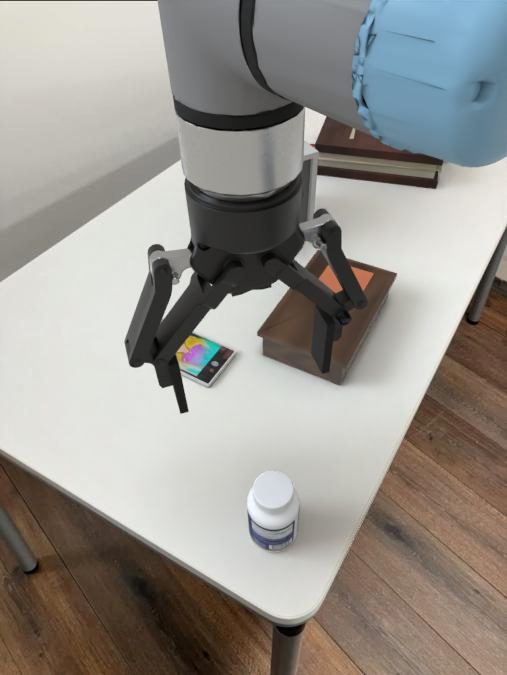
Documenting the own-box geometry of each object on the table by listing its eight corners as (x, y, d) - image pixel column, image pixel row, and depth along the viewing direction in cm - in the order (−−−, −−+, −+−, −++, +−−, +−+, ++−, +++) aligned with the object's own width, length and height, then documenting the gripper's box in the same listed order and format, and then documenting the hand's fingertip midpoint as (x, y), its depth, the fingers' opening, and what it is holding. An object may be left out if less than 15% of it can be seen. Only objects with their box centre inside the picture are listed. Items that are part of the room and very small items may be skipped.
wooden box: (391, 297, 82) (397, 272, 78) (342, 389, 69) (347, 364, 66) (316, 273, 86) (318, 248, 82) (257, 355, 74) (256, 330, 70)
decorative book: (320, 102, 115) (458, 114, 109) (317, 135, 121) (449, 148, 115) (302, 141, 102) (458, 157, 96) (300, 175, 108) (447, 193, 102)
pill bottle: (261, 498, 59) (260, 455, 52) (304, 517, 57) (309, 475, 50) (240, 540, 56) (235, 500, 49) (285, 562, 54) (287, 524, 47)
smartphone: (208, 385, 69) (123, 345, 75) (209, 388, 70) (124, 348, 75) (236, 351, 74) (154, 315, 79) (236, 354, 74) (154, 318, 79)
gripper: (391, 115, 37) (356, 322, 52) (36, 179, 32) (113, 386, 48) (449, 163, 32) (392, 376, 48) (40, 247, 27) (124, 454, 43)
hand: (252, 381), depth 48 cm, fingers open, 13 cm apart
